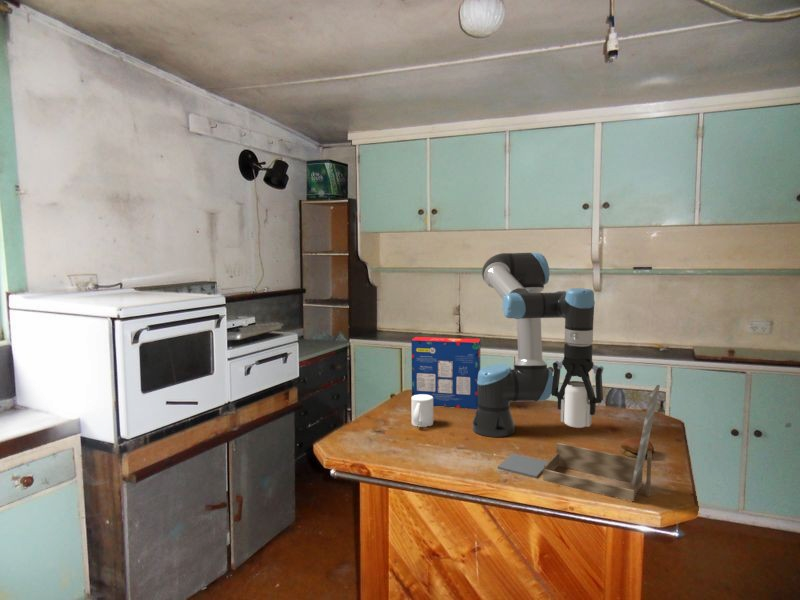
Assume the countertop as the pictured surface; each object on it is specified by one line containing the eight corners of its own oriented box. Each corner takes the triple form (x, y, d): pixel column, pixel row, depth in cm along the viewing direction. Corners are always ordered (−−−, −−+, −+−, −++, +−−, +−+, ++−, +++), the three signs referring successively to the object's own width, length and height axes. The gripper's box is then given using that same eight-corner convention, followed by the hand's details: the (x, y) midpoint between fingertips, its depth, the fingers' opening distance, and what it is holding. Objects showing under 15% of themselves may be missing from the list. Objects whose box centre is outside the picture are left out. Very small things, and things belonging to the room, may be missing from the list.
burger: (614, 452, 169) (615, 438, 168) (630, 446, 174) (631, 432, 173) (643, 463, 161) (644, 448, 160) (659, 456, 166) (660, 442, 165)
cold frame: (543, 479, 149) (544, 381, 146) (556, 464, 159) (558, 372, 156) (647, 505, 134) (652, 395, 131) (655, 487, 144) (659, 385, 141)
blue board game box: (480, 403, 222) (480, 339, 219) (478, 409, 215) (478, 342, 212) (416, 399, 229) (415, 336, 226) (411, 405, 221) (411, 340, 219)
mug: (435, 395, 199) (426, 404, 188) (435, 421, 200) (426, 431, 189) (415, 393, 202) (405, 401, 191) (415, 419, 203) (405, 429, 192)
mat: (497, 468, 157) (497, 466, 157) (513, 455, 167) (513, 453, 167) (536, 478, 150) (536, 476, 150) (550, 463, 160) (550, 461, 160)
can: (589, 429, 145) (591, 387, 144) (565, 427, 147) (566, 386, 145) (585, 421, 152) (587, 380, 150) (562, 419, 153) (563, 380, 151)
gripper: (540, 342, 149) (538, 420, 151) (612, 349, 138) (608, 433, 141) (548, 338, 155) (546, 413, 158) (617, 344, 144) (614, 425, 147)
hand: (575, 422), depth 149 cm, fingers closed on can, 6 cm apart
